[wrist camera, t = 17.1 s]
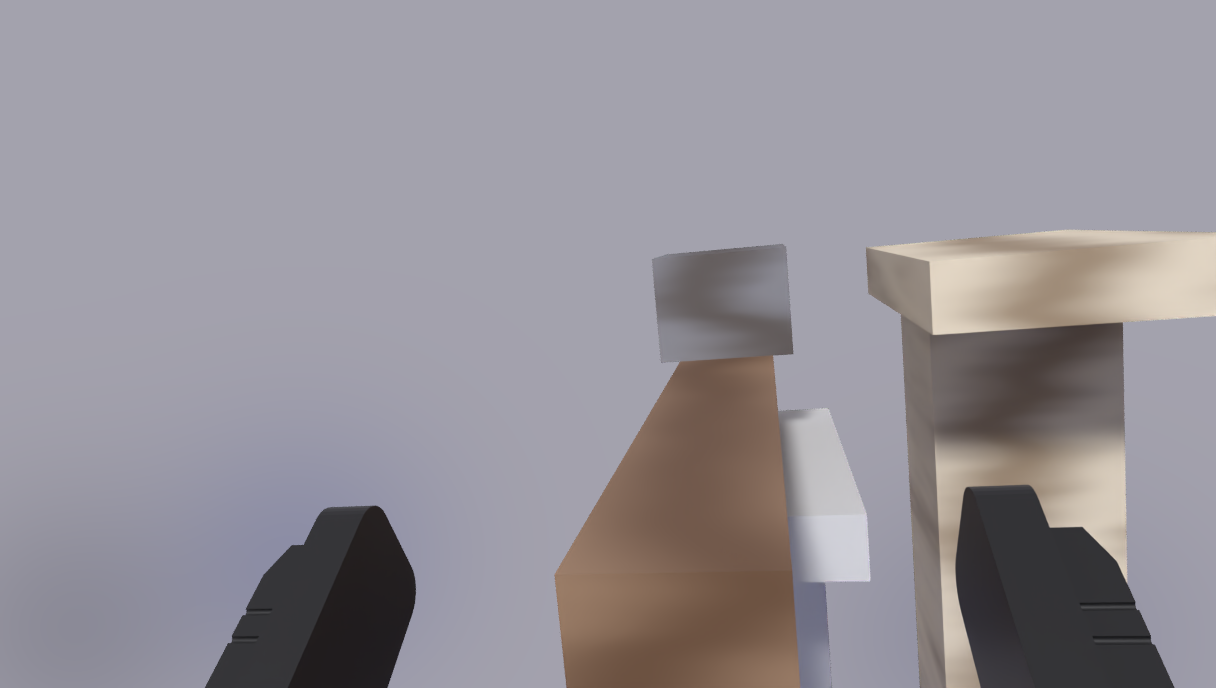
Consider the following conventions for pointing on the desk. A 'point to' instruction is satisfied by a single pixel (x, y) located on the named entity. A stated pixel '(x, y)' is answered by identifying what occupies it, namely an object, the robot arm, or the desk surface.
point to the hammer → (695, 500)
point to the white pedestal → (819, 530)
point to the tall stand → (1022, 386)
